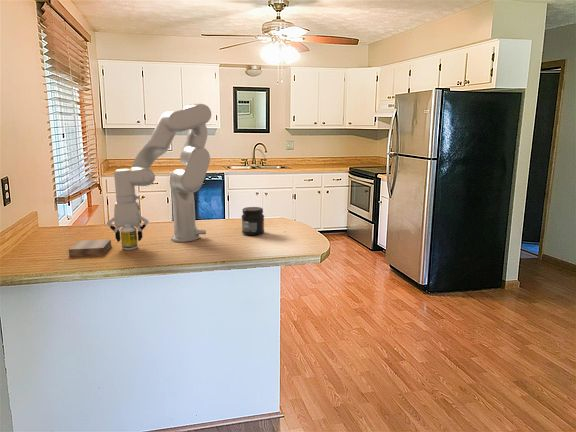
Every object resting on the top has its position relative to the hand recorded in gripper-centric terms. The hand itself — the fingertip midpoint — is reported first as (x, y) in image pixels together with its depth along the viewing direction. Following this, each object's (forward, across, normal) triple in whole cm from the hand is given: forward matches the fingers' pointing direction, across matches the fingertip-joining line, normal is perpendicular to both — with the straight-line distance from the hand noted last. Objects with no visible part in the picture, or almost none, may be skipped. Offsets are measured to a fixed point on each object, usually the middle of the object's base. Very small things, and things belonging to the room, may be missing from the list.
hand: (129, 240), depth 189 cm
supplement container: (+4, -53, -16) cm, 55 cm away
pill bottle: (+4, 0, 0) cm, 4 cm away
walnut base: (+3, +15, +2) cm, 16 cm away
